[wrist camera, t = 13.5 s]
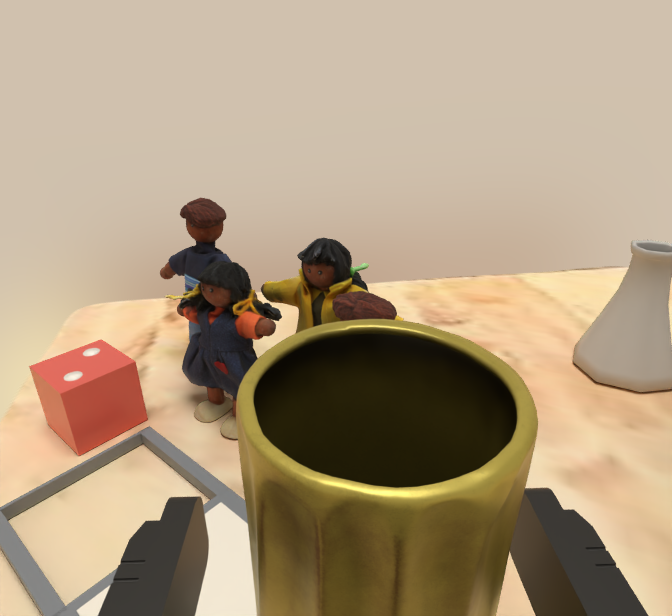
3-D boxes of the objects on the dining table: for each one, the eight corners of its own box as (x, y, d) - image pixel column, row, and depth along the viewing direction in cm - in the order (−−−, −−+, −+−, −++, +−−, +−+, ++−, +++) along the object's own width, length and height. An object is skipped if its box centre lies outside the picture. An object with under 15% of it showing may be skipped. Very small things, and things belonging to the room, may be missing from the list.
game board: (151, 436, 30) (149, 425, 30) (532, 739, 16) (537, 725, 16) (-12, 528, 24) (-18, 515, 23) (377, 1157, 10) (378, 1150, 9)
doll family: (101, 401, 34) (52, 215, 28) (186, 344, 41) (162, 188, 35) (419, 508, 25) (442, 269, 19) (454, 410, 32) (478, 218, 27)
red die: (114, 394, 34) (101, 338, 32) (147, 419, 32) (135, 360, 30) (48, 425, 31) (29, 365, 29) (78, 455, 28) (60, 393, 27)
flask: (585, 390, 34) (620, 260, 30) (560, 342, 41) (585, 229, 37) (695, 400, 33) (747, 266, 29) (651, 349, 40) (688, 233, 36)
